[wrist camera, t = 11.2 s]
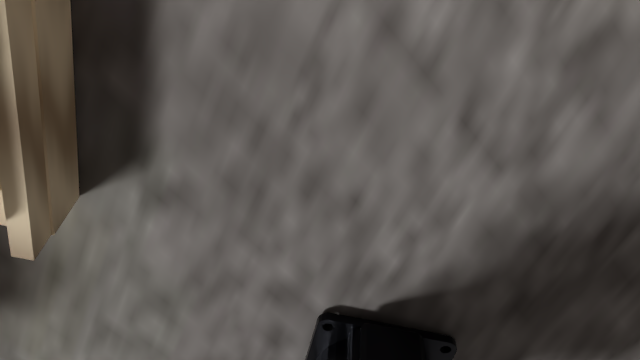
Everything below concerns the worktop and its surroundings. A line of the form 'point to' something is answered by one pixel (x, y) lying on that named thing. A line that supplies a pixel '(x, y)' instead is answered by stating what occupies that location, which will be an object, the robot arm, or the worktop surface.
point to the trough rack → (36, 122)
